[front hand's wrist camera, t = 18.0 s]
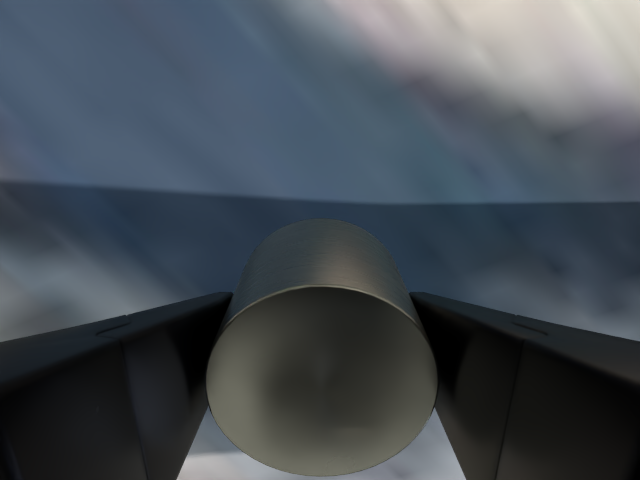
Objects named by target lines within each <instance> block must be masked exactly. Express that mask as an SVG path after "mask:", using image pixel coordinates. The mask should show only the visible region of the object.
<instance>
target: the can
mask: <svg viewBox="0 0 640 480" xmlns="http://www.w3.org/2000/svg"><path fill="white" fill-rule="evenodd" d="M204 377H205V392H206V398H207V402H208V405H209V408H210V411H211V413H212V415H213V417H214V419H215V421H216V423H217V425H218V426H219V427H220V429H221V430H222V432H223V433H224V434H225V435H226V437H227V438H228V439H229V440H230V441H231V442H232V443H233V444H234V445H235V446H237V447H238V448H239V449H240V450H241V451H243V452H244V453H246V454H247V455H249V456H250V457H252V458H253V459H255V460H257V461H259V462H261V463H263V464H265V465H267V466H270V467H272V468H275V469H278V470H281V471H285V472H289V473H293V474H299V475H305V476H337V475H344V474H350V473H354V472H358V471H362V470H365V469H368V468H371V467H374V466H376V465H378V464H380V463H382V462H384V461H386V460H388V459H390V458H391V457H393V456H394V455H396V454H398V453H399V452H400V451H401V450H403V449H404V448H405V447H407V446H408V445H409V444H410V443H411V442H412V441H413V440H414V439H415V438H416V437H417V436H418V434H419V433H420V432H421V431H422V429H423V428H424V427H425V425H426V423H427V421H428V420H429V418H430V416H431V414H432V411H433V409H434V406H435V404H436V399H437V395H438V390H439V369H438V363H437V359H436V355H435V352H434V350H433V347H432V345H431V343H430V341H429V338H428V336H427V334H426V332H425V329H424V327H423V325H422V323H421V320H420V318H419V316H418V314H417V311H416V309H415V307H414V305H413V302H412V300H411V298H410V296H409V293H408V291H407V289H406V287H405V284H404V282H403V280H402V278H401V275H400V273H399V271H398V269H397V266H396V264H395V262H394V260H393V258H392V256H391V255H390V253H389V251H388V250H387V249H386V248H385V246H384V245H383V244H382V243H381V242H380V241H379V240H378V239H377V238H375V237H374V236H373V235H372V234H370V233H369V232H367V231H366V230H364V229H362V228H360V227H358V226H356V225H354V224H351V223H348V222H345V221H340V220H336V219H326V218H316V219H307V220H301V221H298V222H294V223H291V224H288V225H286V226H284V227H282V228H280V229H278V230H276V231H275V232H273V233H272V234H270V235H269V236H268V237H267V238H265V239H264V240H263V241H262V242H261V243H260V244H259V245H258V246H257V247H256V249H255V250H254V252H253V253H252V254H251V256H250V258H249V260H248V262H247V264H246V266H245V268H244V271H243V273H242V275H241V278H240V280H239V282H238V285H237V287H236V290H235V292H234V294H233V297H232V299H231V301H230V304H229V306H228V309H227V311H226V313H225V316H224V318H223V320H222V323H221V325H220V328H219V330H218V332H217V335H216V337H215V339H214V342H213V344H212V347H211V349H210V352H209V355H208V358H207V361H206V368H205V374H204Z"/></svg>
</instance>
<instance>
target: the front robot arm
mask: <svg viewBox="0 0 640 480" xmlns="http://www.w3.org/2000/svg"><path fill="white" fill-rule="evenodd" d="M409 296H410V298H411V300H412V302H413V305H414V307H415V309H416V311H417V314H418V316H419V318H420V320H421V323H422V325H423V327H424V329H425V332H426V334H427V336H428V338H429V341H430V343H431V345H432V347H433V350H434V352H435V355H436V359H437V363H438V369H439V390H438V395H437V399H436V404H435V406H434V407H435V409H436V411H437V414H438V416H439V418H440V421H441V423H442V425H443V427H444V430H445V432H446V434H447V437H448V439H449V441H450V443H451V446H452V448H453V450H454V453H455V455H456V457H457V459H458V462H459V464H460V466H461V469H462V471H463V473H464V475H465V478H466V480H640V342H639V341H634V340H630V339H625V338H620V337H615V336H611V335H606V334H601V333H596V332H591V331H587V330H582V329H577V328H572V327H568V326H563V325H559V324H554V323H550V322H545V321H541V320H537V319H533V318H528V317H524V316H520V315H514V314H510V313H506V312H502V311H498V310H494V309H489V308H485V307H481V306H477V305H473V304H469V303H465V302H461V301H457V300H453V299H449V298H445V297H441V296H437V295H433V294H429V293H424V292H410V293H409ZM232 297H233V293H232V292H217V293H213V294H209V295H205V296H201V297H197V298H193V299H189V300H185V301H181V302H177V303H173V304H169V305H165V306H161V307H157V308H153V309H149V310H145V311H141V312H137V313H133V314H129V315H127V316H126V315H123V316H119V317H115V318H110V319H106V320H102V321H98V322H93V323H89V324H84V325H80V326H75V327H71V328H66V329H61V330H57V331H52V332H47V333H42V334H38V335H33V336H28V337H23V338H19V339H14V340H9V341H5V342H0V480H176V479H177V477H178V475H179V472H180V470H181V468H182V465H183V463H184V461H185V458H186V456H187V454H188V452H189V449H190V447H191V445H192V442H193V440H194V438H195V435H196V433H197V431H198V428H199V426H200V424H201V421H202V419H203V417H204V414H205V412H206V410H207V408H208V402H207V398H206V392H205V377H204V374H205V368H206V361H207V358H208V355H209V352H210V349H211V347H212V344H213V342H214V339H215V337H216V335H217V332H218V330H219V328H220V325H221V323H222V320H223V318H224V316H225V313H226V311H227V309H228V306H229V304H230V301H231V299H232Z"/></svg>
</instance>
